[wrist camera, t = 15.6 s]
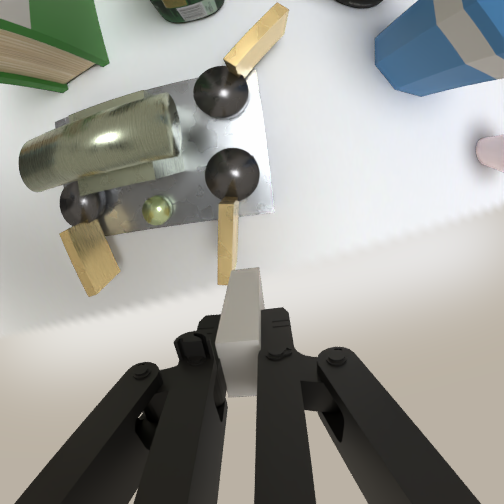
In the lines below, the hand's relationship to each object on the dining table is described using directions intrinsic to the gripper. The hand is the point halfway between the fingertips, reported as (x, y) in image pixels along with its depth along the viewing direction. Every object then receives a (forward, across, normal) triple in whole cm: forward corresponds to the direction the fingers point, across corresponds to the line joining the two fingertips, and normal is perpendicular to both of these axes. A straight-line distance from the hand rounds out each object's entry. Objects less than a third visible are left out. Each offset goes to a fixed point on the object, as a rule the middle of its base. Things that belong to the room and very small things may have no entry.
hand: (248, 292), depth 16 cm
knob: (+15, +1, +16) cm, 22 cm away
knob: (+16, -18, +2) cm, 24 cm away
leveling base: (+18, -10, +8) cm, 22 cm away
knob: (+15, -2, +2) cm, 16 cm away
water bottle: (+18, +20, +17) cm, 32 cm away
